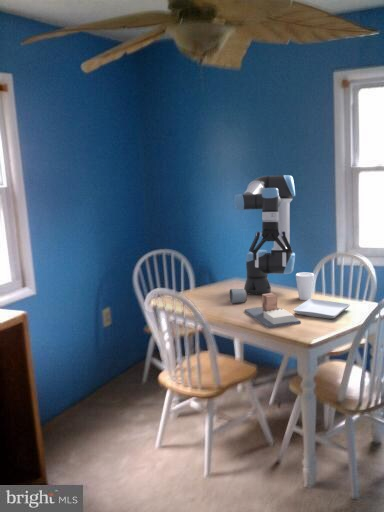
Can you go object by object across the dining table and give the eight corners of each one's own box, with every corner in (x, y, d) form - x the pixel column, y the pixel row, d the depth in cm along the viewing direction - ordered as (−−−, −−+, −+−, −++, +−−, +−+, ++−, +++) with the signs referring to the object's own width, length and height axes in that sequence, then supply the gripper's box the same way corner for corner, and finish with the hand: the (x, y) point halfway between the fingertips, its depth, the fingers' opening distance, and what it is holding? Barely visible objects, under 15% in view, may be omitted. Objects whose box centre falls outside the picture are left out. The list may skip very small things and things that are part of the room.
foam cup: (310, 301, 275) (310, 276, 273) (293, 299, 280) (293, 275, 277) (316, 296, 283) (316, 273, 281) (299, 295, 288) (299, 271, 285)
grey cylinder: (247, 303, 277) (247, 289, 275) (232, 305, 275) (232, 290, 274) (242, 298, 287) (241, 285, 286) (227, 300, 286) (227, 286, 284)
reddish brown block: (262, 312, 255) (262, 294, 253) (272, 311, 256) (271, 292, 255) (267, 315, 249) (267, 297, 248) (277, 314, 251) (277, 295, 249)
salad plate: (335, 322, 241) (335, 315, 240) (292, 316, 253) (291, 309, 252) (350, 310, 258) (350, 303, 257) (309, 305, 270) (309, 298, 269)
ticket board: (244, 311, 263) (244, 303, 262) (274, 307, 267) (274, 299, 266) (268, 328, 236) (267, 318, 235) (300, 323, 241) (300, 314, 240)
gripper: (247, 221, 241) (247, 268, 242) (298, 220, 246) (298, 266, 247) (242, 221, 248) (242, 267, 249) (292, 221, 253) (292, 265, 255)
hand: (270, 266), depth 248 cm, fingers open, 13 cm apart
